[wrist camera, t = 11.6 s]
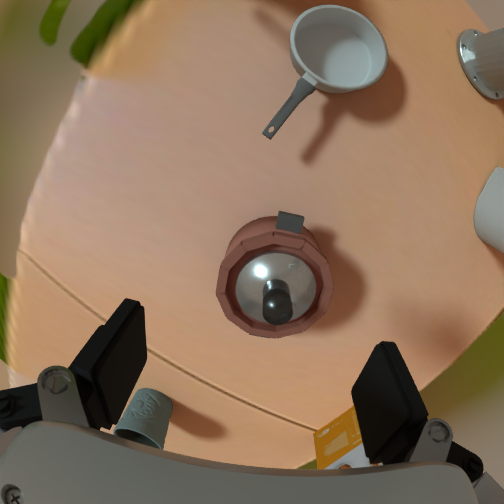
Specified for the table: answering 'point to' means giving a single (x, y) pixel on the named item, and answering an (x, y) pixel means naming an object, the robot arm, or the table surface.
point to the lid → (275, 286)
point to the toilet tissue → (491, 211)
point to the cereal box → (341, 444)
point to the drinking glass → (146, 418)
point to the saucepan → (332, 55)
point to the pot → (269, 238)
